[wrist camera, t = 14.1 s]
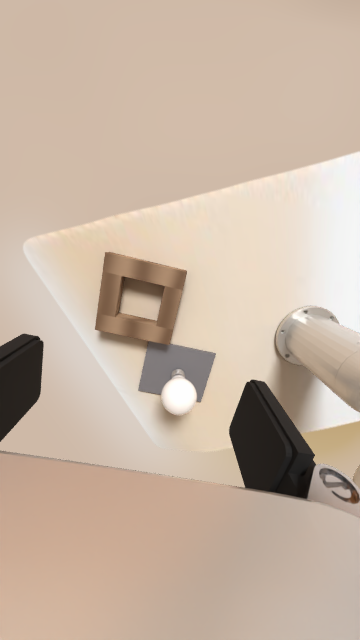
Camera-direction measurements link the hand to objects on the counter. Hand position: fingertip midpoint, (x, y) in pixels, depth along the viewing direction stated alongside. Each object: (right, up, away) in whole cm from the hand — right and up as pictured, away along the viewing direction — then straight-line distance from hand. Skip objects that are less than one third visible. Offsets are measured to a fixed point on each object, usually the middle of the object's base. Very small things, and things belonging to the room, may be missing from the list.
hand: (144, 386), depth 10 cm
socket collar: (-6, +7, +32) cm, 34 cm away
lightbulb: (+1, -8, +37) cm, 38 cm away
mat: (+1, -8, +37) cm, 38 cm away
